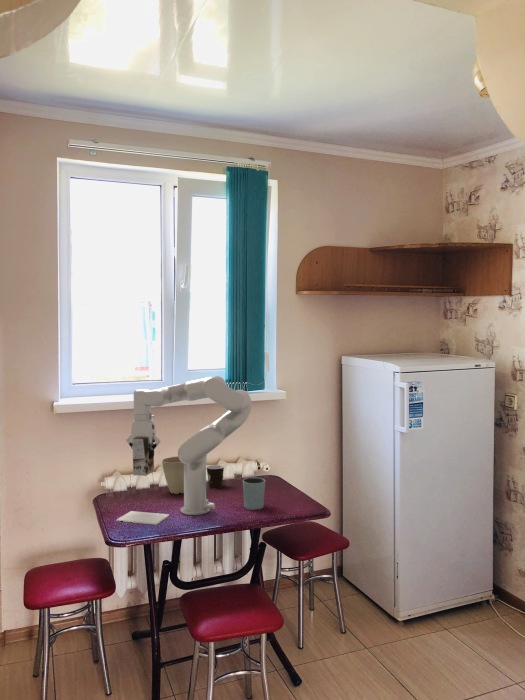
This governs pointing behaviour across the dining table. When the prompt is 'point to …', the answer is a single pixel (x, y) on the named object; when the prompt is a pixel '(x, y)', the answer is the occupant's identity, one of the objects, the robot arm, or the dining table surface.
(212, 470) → the coffee mug
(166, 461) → the plant pot
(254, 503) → the teal cup
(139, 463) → the coffee box
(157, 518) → the mat
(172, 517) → the dining table surface
